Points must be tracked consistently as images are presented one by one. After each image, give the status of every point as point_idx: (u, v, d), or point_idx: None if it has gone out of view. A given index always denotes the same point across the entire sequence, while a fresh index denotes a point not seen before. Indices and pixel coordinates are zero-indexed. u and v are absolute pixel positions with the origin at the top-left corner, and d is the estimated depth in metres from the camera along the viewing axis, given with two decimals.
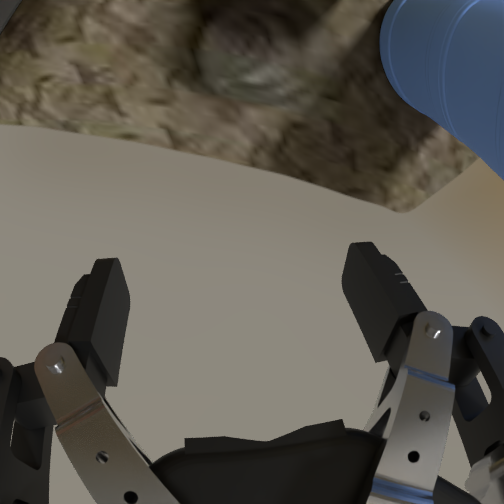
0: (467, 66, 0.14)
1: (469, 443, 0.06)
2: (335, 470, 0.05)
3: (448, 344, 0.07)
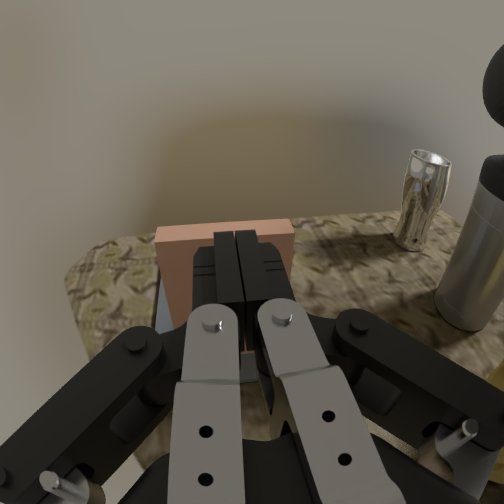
0: None
1: (398, 431, 0.07)
2: None
3: (293, 335, 0.07)
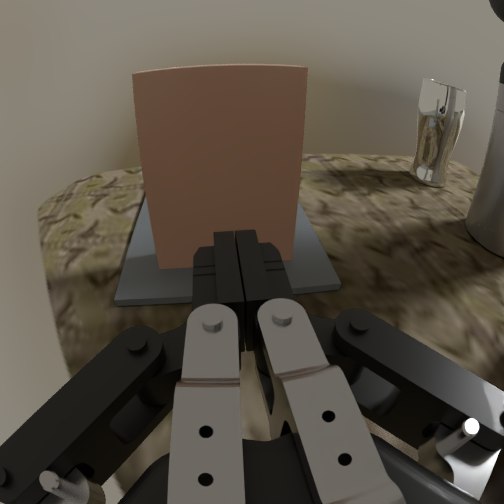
0: None
1: (398, 431, 0.07)
2: None
3: (293, 335, 0.07)
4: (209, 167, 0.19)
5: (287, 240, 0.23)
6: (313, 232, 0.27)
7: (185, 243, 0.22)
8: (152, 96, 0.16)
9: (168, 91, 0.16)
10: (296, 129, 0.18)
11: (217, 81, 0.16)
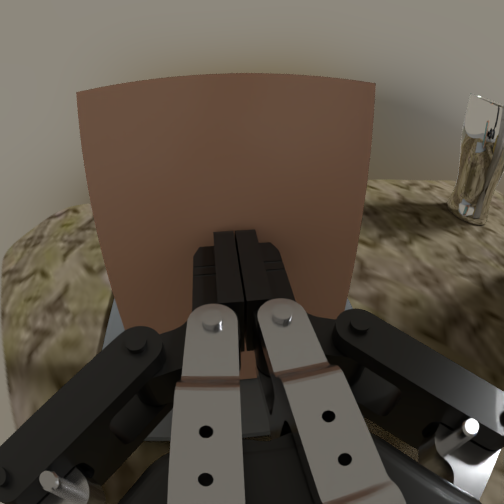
0: None
1: (398, 431, 0.07)
2: None
3: (293, 335, 0.07)
4: None
5: None
6: None
7: None
8: (110, 131, 0.09)
9: (136, 121, 0.09)
10: (355, 188, 0.11)
11: (223, 102, 0.09)
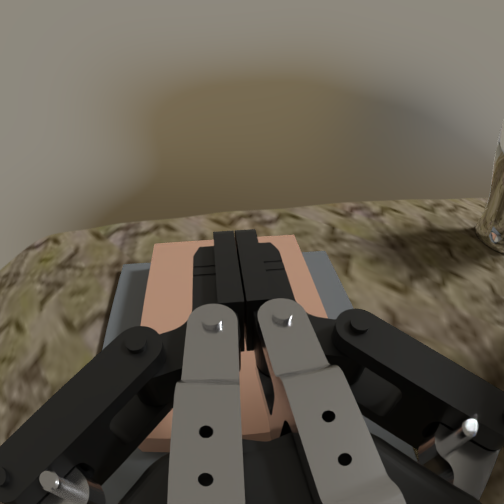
0: None
1: (398, 431, 0.07)
2: None
3: (293, 335, 0.07)
4: None
5: None
6: None
7: None
8: (168, 255, 0.21)
9: (182, 253, 0.21)
10: (301, 269, 0.20)
11: None
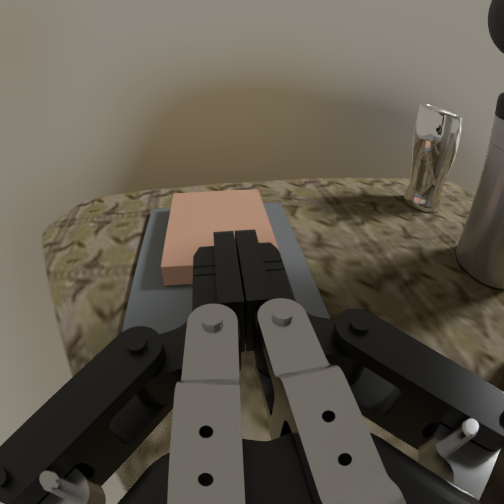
0: None
1: (398, 431, 0.07)
2: None
3: (293, 335, 0.07)
4: (209, 217, 0.32)
5: None
6: (307, 267, 0.29)
7: (188, 250, 0.27)
8: (182, 198, 0.35)
9: (190, 197, 0.36)
10: (258, 204, 0.34)
11: (214, 194, 0.36)
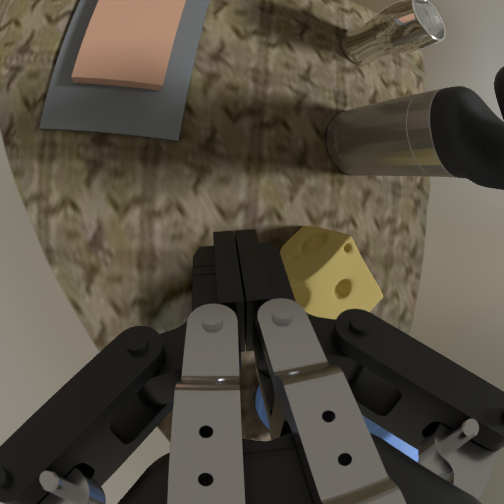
0: None
1: (398, 431, 0.07)
2: None
3: (293, 335, 0.07)
4: (127, 19, 0.25)
5: (162, 69, 0.28)
6: (187, 84, 0.31)
7: (96, 59, 0.25)
8: None
9: None
10: (178, 9, 0.27)
11: None
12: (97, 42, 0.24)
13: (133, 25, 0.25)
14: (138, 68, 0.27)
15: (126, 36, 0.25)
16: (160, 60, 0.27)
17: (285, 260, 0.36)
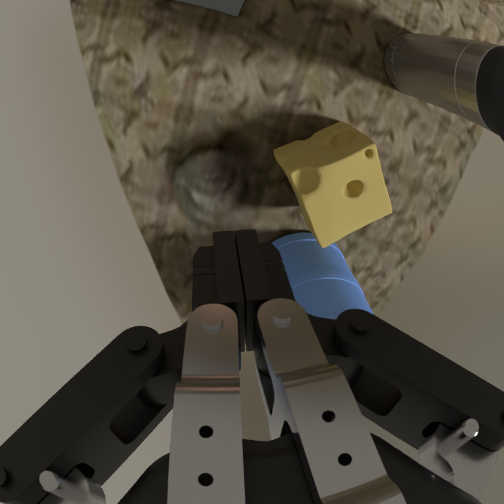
0: (296, 301, 0.37)
1: (398, 431, 0.07)
2: None
3: (293, 335, 0.07)
4: None
5: None
6: None
7: None
8: None
9: None
10: None
11: None
12: None
13: None
14: None
15: None
16: None
17: (311, 145, 0.36)
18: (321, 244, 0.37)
